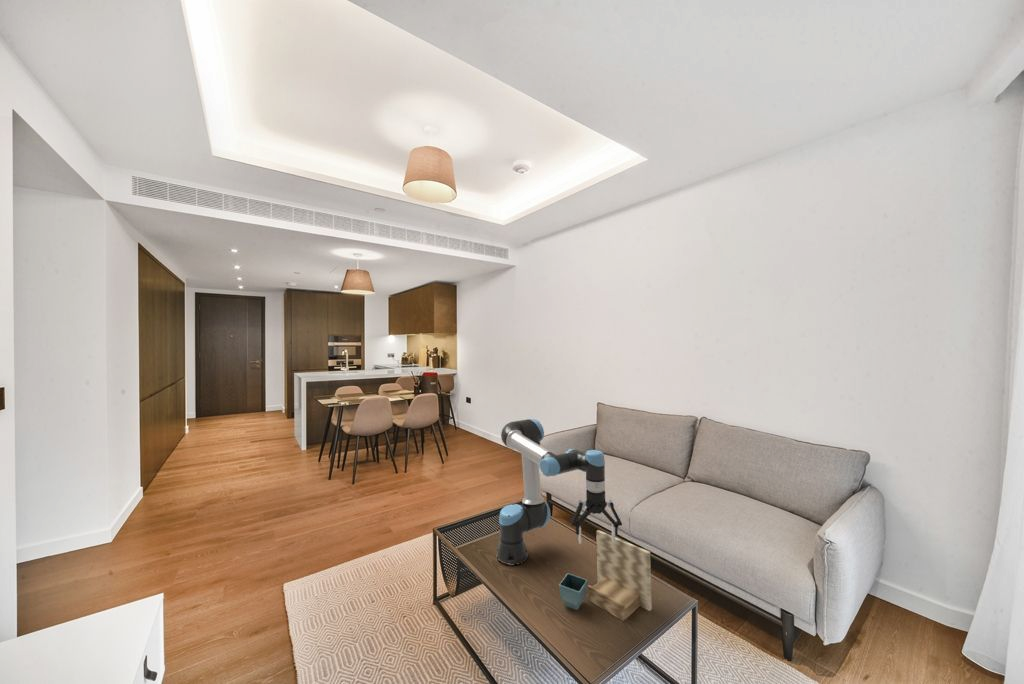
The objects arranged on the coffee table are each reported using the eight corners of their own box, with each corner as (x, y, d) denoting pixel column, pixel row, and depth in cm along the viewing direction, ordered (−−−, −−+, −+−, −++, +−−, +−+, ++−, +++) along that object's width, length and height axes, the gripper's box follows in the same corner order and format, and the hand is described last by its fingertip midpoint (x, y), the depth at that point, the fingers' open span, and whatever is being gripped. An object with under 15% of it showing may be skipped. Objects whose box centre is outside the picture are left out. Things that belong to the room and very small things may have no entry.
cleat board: (580, 594, 151) (578, 540, 152) (599, 580, 160) (598, 529, 161) (633, 627, 133) (631, 566, 134) (651, 609, 142) (650, 551, 143)
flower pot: (580, 616, 139) (579, 592, 139) (558, 607, 144) (558, 584, 144) (588, 602, 147) (587, 579, 147) (567, 594, 151) (567, 572, 152)
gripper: (566, 493, 147) (567, 547, 146) (629, 493, 146) (630, 547, 145) (563, 486, 154) (564, 537, 154) (624, 486, 153) (625, 537, 153)
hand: (596, 542), depth 150 cm, fingers open, 13 cm apart
